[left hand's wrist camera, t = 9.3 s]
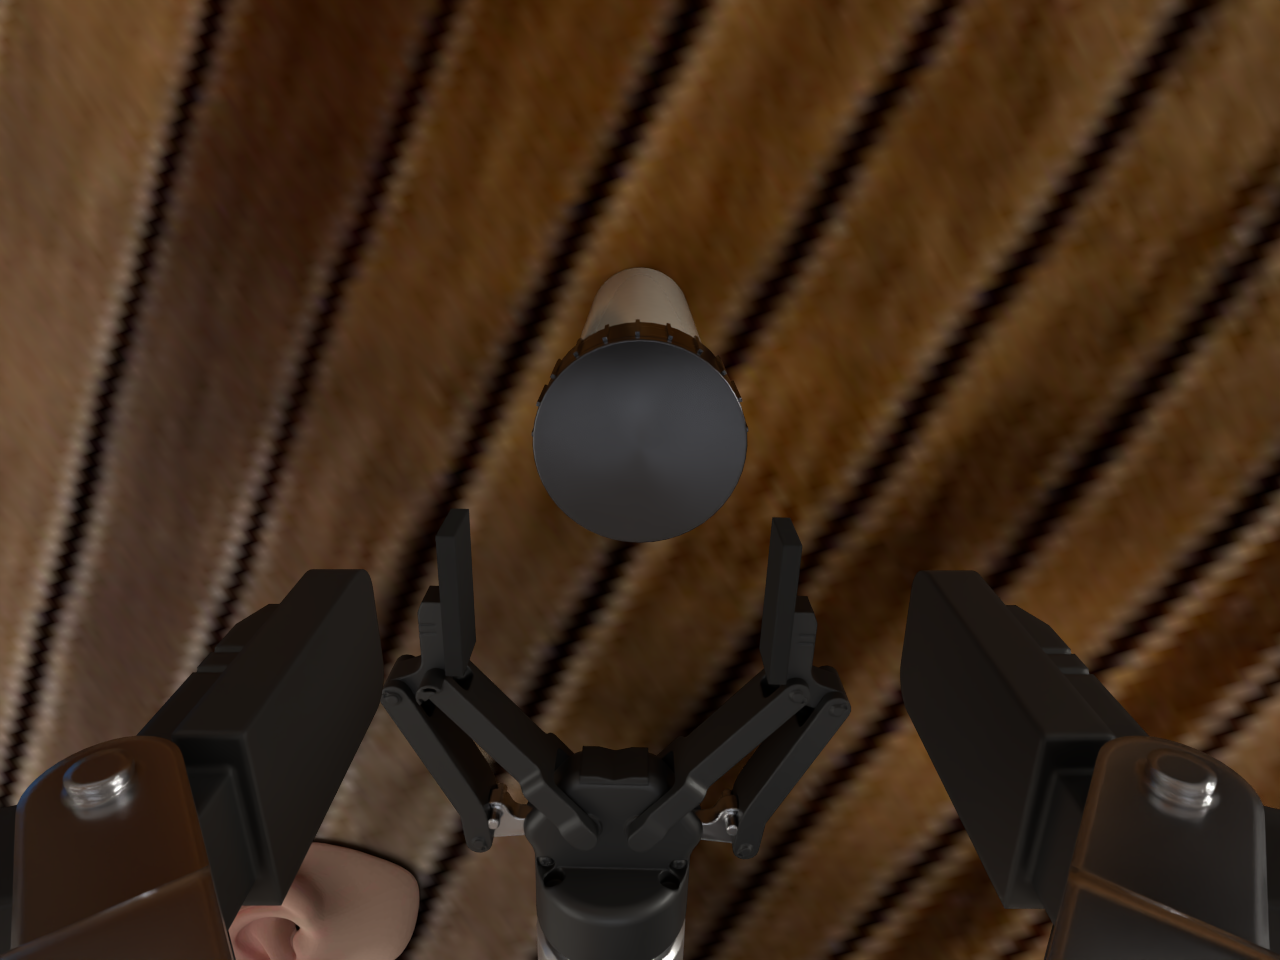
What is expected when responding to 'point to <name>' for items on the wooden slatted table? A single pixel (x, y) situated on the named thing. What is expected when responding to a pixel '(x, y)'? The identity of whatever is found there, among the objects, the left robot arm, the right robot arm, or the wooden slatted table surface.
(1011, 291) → the wooden slatted table surface
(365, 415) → the wooden slatted table surface
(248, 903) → the left robot arm
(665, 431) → the lid
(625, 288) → the cream bottle
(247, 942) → the anatomical model
